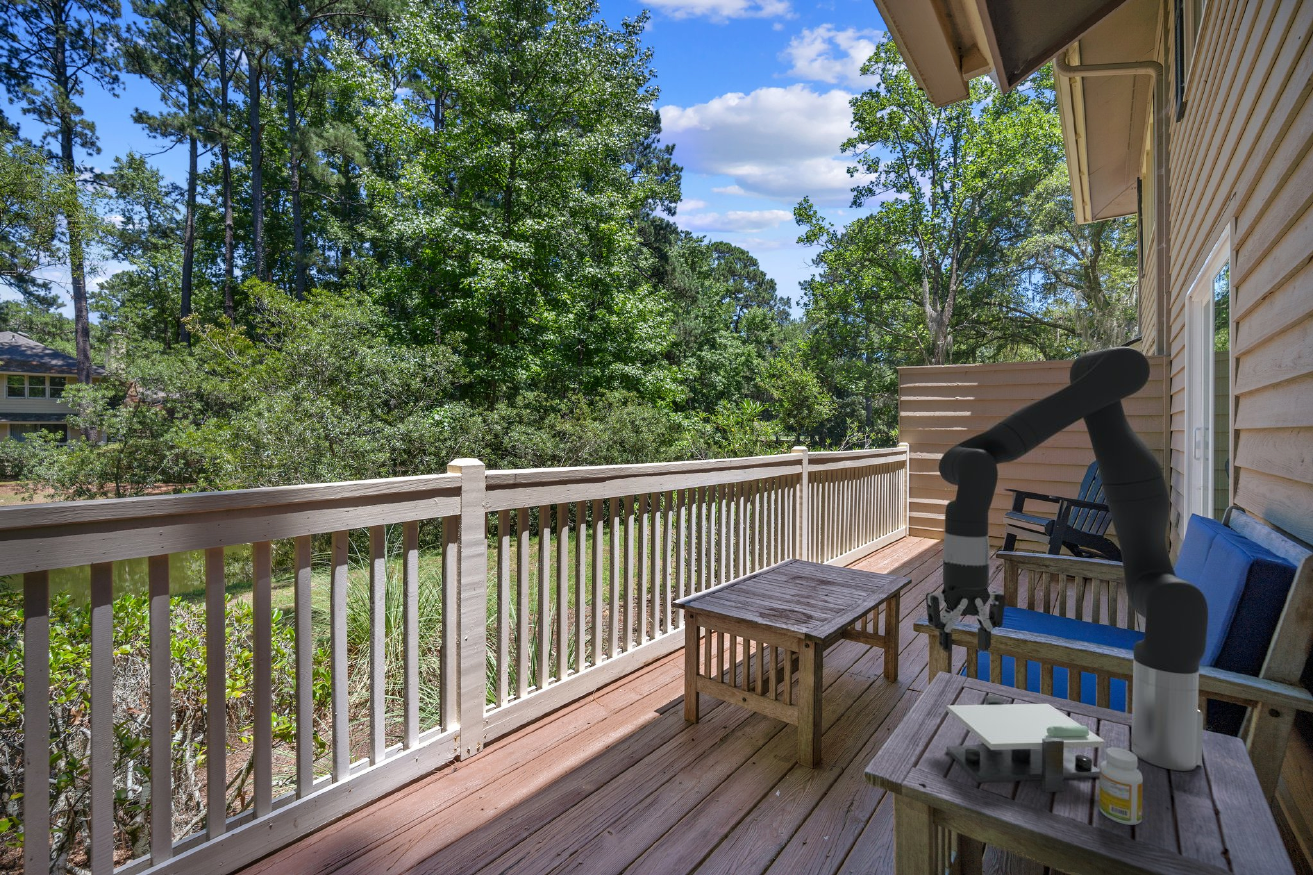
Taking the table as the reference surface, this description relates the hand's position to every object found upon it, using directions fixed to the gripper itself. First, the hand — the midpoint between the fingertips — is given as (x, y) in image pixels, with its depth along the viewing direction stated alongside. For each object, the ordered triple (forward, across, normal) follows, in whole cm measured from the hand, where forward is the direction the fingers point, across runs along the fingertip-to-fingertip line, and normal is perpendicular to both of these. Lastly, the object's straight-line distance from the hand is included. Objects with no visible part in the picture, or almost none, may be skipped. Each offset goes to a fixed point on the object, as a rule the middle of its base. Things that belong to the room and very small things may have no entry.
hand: (964, 650), depth 115 cm
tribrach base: (+20, -9, +3) cm, 22 cm away
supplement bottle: (+20, -15, +18) cm, 31 cm away
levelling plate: (+13, -9, +3) cm, 16 cm away
